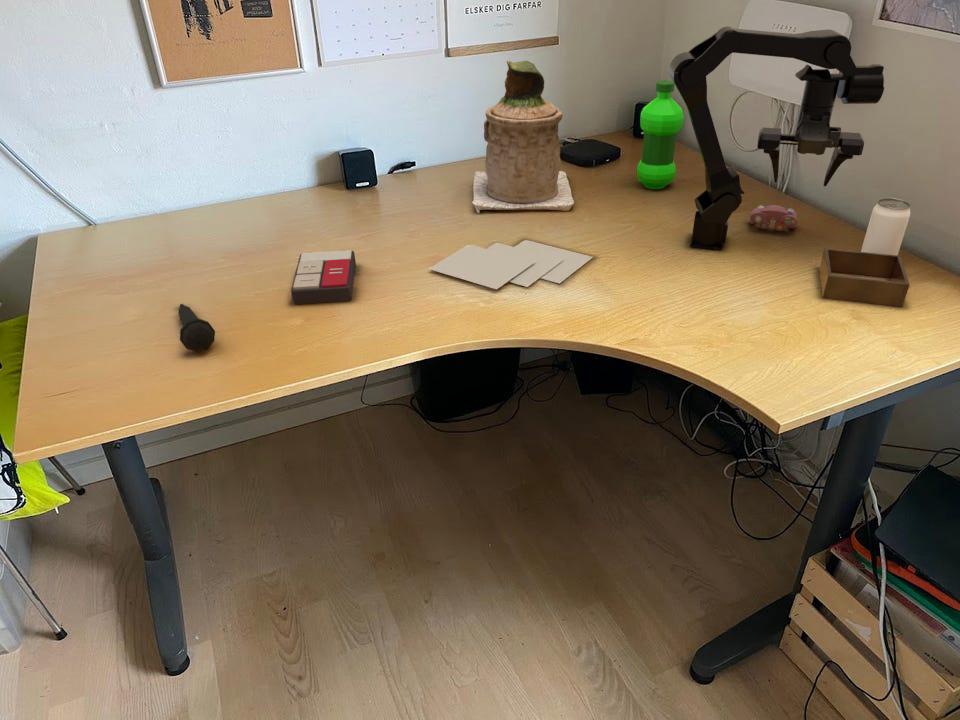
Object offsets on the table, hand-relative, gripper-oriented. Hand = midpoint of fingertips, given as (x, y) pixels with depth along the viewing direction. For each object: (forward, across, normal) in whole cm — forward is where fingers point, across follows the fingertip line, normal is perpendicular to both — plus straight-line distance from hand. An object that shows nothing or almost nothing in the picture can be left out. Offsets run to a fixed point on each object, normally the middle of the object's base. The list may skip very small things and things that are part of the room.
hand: (799, 183), depth 145 cm
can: (+13, +17, -4) cm, 22 cm away
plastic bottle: (+13, -31, +28) cm, 44 cm away
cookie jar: (+13, -62, +14) cm, 65 cm away
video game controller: (+13, -3, +7) cm, 15 cm away
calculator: (+13, -86, -43) cm, 97 cm away
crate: (+13, +12, -17) cm, 25 cm away
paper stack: (+13, -53, -25) cm, 60 cm away
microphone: (+13, -100, -65) cm, 120 cm away
